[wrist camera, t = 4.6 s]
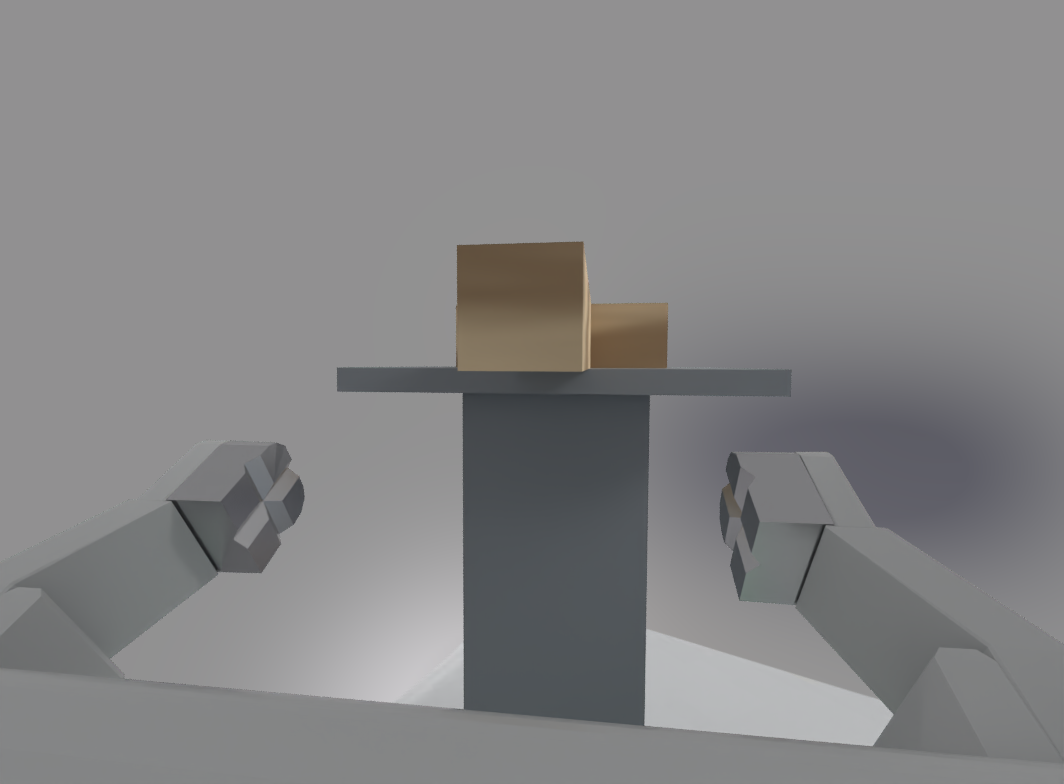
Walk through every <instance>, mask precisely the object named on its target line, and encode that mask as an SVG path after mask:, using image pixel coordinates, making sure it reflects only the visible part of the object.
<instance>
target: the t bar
mask: <svg viewBox="0 0 1064 784" xmlns="http://www.w3.org/2000/svg"><path fill="white" fill-rule="evenodd" d="M667 327H668V303H624V304H623V303H622V304H591V299H590V291H589V283H588V276H587V267H586V259H585V251H584V243H583V242H554V243H517V244H483V245H457V306H456V368H458V371H557V372H582V371H585V370H587V369H590V368H667V330H668V328H667Z"/></svg>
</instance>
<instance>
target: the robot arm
mask: <svg viewBox="0 0 1064 784" xmlns="http://www.w3.org/2000/svg"><path fill="white" fill-rule="evenodd" d="M291 460H292V459H291V457H290V455H289V453H288V451H287V449H286V447H285V446H284V445H281V444H279V443H272V442H248V441H216V440H215V441H214V440H206V441H203V442H200V443H197V444H196V445H195V446H194V447H192V448H191V449H190V450H189V451H188V452H187V453H186V454H185V455H184V456H183V457H182V458H181V459H180V460H179V461H178V462H176V463H175V464H174V465H173V466H172V467H171V468H170V469H169V470H168V471H167V472H166V473H165V474H164V475H163V476H162V477H161V478H159V479H158V480H157V481H156V482H155V483H154V484H153V485H152V486H151V487H150V488H149V489H148V490H147V491H146V492H145V493H144V494H143V495H142V496H141V497H139V498H138V499H137V500H127V501H125V502H123V503H121V504H119V505H117V506H115V507H113V508H111V509H109V510H107V511H105V512H103V513H101V514H99V515H96V516H94V517H92V518H90V519H88V520H86V521H84V522H82V523H80V524H78V525H76V526H74V527H72V528H70V529H68V530H66V531H63V532H62V533H59V534H57V535H55V536H53V537H51V538H49V539H47V540H45V541H43V542H41V543H39V544H37V545H35V546H33V547H31V548H28V549H26V550H24V551H22V552H20V553H18V554H16V555H14V556H12V557H10V558H8V559H6V560H4V561H2V562H0V784H1064V644H1063V643H1061V642H1060V641H1058V640H1057V639H1055V638H1054V637H1052V636H1050V635H1049V634H1047V633H1046V632H1045V631H1043V630H1042V629H1040V628H1038V627H1037V626H1035V625H1034V624H1032V623H1031V622H1029V621H1028V620H1026V619H1025V618H1023V617H1022V616H1020V615H1019V614H1017V613H1016V612H1014V611H1013V610H1011V609H1009V608H1008V607H1006V606H1005V605H1003V604H1002V603H1000V602H999V601H997V600H996V599H994V598H993V597H991V596H990V595H988V594H987V593H985V592H983V591H982V590H980V589H979V588H977V587H976V586H974V585H973V584H971V583H970V582H968V581H967V580H965V579H964V578H962V577H961V576H959V575H957V574H956V573H954V572H953V571H952V570H950V569H948V568H947V567H945V566H944V565H942V564H941V563H939V562H938V561H936V560H934V559H933V558H931V557H930V556H929V555H927V554H926V553H924V552H922V551H921V550H919V549H918V548H916V547H915V546H913V545H912V544H910V543H909V542H907V541H906V540H904V539H903V538H901V537H900V536H898V535H897V534H895V533H894V532H892V531H890V530H889V529H887V528H876V527H875V525H874V523H873V522H872V520H871V518H870V517H869V515H868V514H867V512H866V510H865V508H864V507H863V505H862V503H861V502H860V500H859V498H858V497H857V495H856V493H855V492H854V490H853V489H852V487H851V485H850V483H849V482H848V480H847V478H846V477H845V475H844V473H843V472H842V470H841V468H840V467H839V465H838V464H837V462H836V460H835V458H834V457H833V456H832V455H831V454H829V453H828V452H795V453H775V452H772V453H771V452H769V453H768V452H731V454H730V456H729V458H728V462H727V466H726V472H727V476H728V479H729V482H730V483H729V484H728V485H727V486H725V487H724V488H723V489H722V494H721V500H720V524H721V531H722V535H723V539H724V543H725V544H726V545H727V546H728V547H729V548H730V549H731V550H733V554H732V559H731V564H730V566H731V570H732V574H733V578H734V582H735V585H736V589H737V593H738V597H739V600H740V601H751V602H763V603H775V604H788V605H796V609H797V610H798V611H799V612H800V613H801V614H802V615H803V617H805V619H806V620H807V621H808V622H809V623H810V624H811V625H812V626H813V627H814V628H815V629H816V631H817V632H818V633H819V634H820V635H821V636H822V637H823V638H824V639H825V640H826V641H827V643H828V644H829V645H830V646H831V647H832V648H833V649H834V650H835V651H836V652H837V653H838V654H839V656H840V657H841V658H842V659H843V660H844V661H845V662H846V663H847V664H848V665H849V666H850V667H851V669H852V670H853V671H854V672H855V673H856V674H857V675H858V676H859V677H860V678H861V679H862V680H863V682H864V683H865V684H866V685H867V686H868V687H869V688H870V689H871V690H872V691H873V692H874V693H875V695H876V696H877V697H878V698H879V699H880V700H881V701H882V702H883V703H884V704H885V705H886V706H887V708H888V709H889V710H890V711H891V712H892V713H893V714H894V715H893V717H892V718H891V720H890V721H889V723H888V724H887V726H886V727H885V729H884V730H883V732H882V733H881V735H880V736H879V738H878V739H877V741H876V742H875V744H874V745H873V746H862V745H851V744H840V743H828V742H817V741H806V740H795V739H784V738H773V737H762V736H751V735H740V734H729V733H717V732H706V731H695V730H684V729H673V728H662V727H651V726H640V725H629V724H618V723H607V722H596V721H585V720H574V719H563V718H552V717H541V716H530V715H519V714H508V713H497V712H486V711H475V710H464V709H453V708H442V707H431V706H420V705H409V704H398V703H387V702H375V701H364V700H353V699H342V698H331V697H330V698H329V697H319V696H308V695H297V694H286V693H275V692H264V691H263V692H262V691H253V690H252V691H251V690H242V689H231V688H230V689H229V688H219V687H208V686H197V685H186V684H175V683H164V682H153V681H141V680H129V679H124V673H123V672H122V671H121V670H120V669H119V668H118V667H117V666H116V665H115V664H114V663H113V662H112V661H111V660H110V658H112V657H113V656H114V655H115V654H117V653H118V652H119V651H121V650H122V649H123V648H124V647H126V646H127V645H128V644H130V643H131V642H132V641H133V640H135V639H136V638H137V637H139V636H140V635H141V634H142V633H144V632H145V631H146V630H148V629H149V628H150V627H151V626H153V625H154V624H155V623H157V622H158V621H159V620H160V619H161V618H163V617H164V616H166V615H167V614H168V613H169V612H171V611H172V610H173V609H175V608H176V607H177V606H178V605H180V604H181V603H182V602H184V601H185V600H186V599H187V598H189V597H190V596H191V595H192V594H194V593H195V592H196V591H198V590H199V589H200V588H202V587H203V586H204V585H205V584H207V583H208V582H209V581H211V580H212V579H213V578H215V577H216V576H217V575H218V572H233V573H234V572H235V573H262V572H263V570H264V569H265V567H266V566H267V564H268V563H269V561H270V560H271V558H272V557H273V555H274V554H275V552H276V551H277V549H278V548H279V546H280V545H281V540H280V533H282V532H283V531H285V530H286V529H288V528H289V527H291V526H292V525H294V523H295V521H296V520H297V518H298V517H299V515H300V513H301V510H302V506H303V502H304V489H303V485H302V482H301V480H300V477H299V476H298V475H296V474H295V473H294V472H293V471H291V470H290V469H289V468H288V467H289V464H290V462H291Z"/></svg>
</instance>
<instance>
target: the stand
mask: <svg viewBox="0 0 1064 784" xmlns="http://www.w3.org/2000/svg"><path fill="white" fill-rule="evenodd" d="M337 391H342V392H343V391H344V392H345V391H346V392H431V393H463V567H464V568H463V575H464V576H463V581H464V582H463V585H464V587H463V592H464V710H475V711H486V712H497V713H508V714H519V715H530V716H541V717H552V718H563V719H574V720H585V721H596V722H607V723H618V724H629V725H640V726H644V713H645V652H646V590H647V588H646V587H647V530H648V526H647V525H648V469H649V468H648V467H649V466H648V465H649V464H648V463H649V409H650V408H649V407H650V395H700V396H703V395H704V396H788V397H790V396H791V370H781V369H745V368H744V369H743V368H590V369H587V370H585V371H582V372H557V371H458V368H456V367H356V368H355V367H350V368H337Z"/></svg>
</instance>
